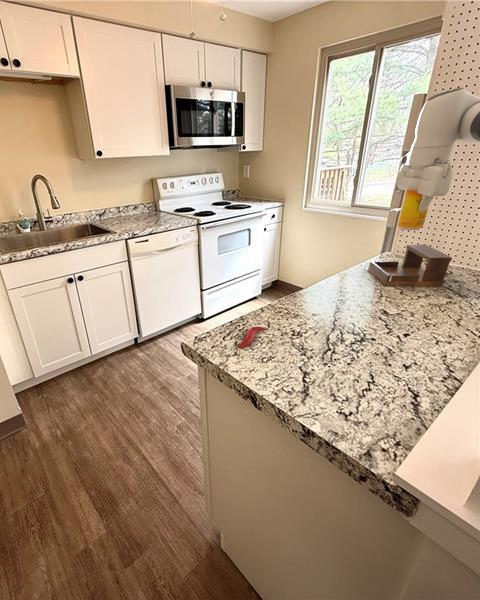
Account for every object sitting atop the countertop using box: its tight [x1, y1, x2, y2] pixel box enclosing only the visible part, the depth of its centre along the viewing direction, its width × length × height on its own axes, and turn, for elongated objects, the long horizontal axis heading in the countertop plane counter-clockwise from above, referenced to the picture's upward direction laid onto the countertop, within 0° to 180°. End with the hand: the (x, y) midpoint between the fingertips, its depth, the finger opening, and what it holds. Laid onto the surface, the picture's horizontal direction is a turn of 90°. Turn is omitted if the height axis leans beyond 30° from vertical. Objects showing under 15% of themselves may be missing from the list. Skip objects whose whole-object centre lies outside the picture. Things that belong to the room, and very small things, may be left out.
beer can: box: [397, 177, 431, 231], centre depth 93 cm, size 6×6×15 cm
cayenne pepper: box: [236, 326, 266, 349], centre depth 79 cm, size 12×5×2 cm, turn 123°
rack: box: [367, 244, 453, 287], centre depth 101 cm, size 15×14×9 cm
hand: (414, 208), depth 93 cm, fingers closed on beer can, 6 cm apart
